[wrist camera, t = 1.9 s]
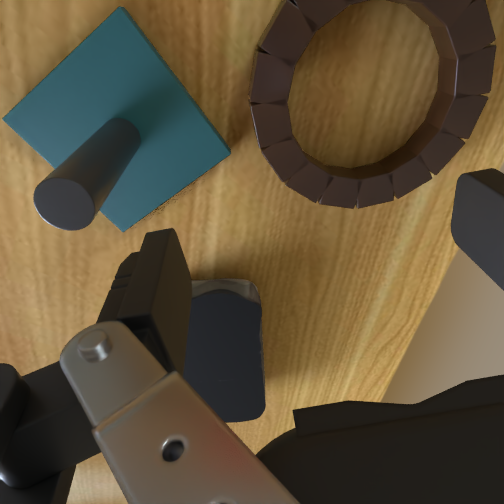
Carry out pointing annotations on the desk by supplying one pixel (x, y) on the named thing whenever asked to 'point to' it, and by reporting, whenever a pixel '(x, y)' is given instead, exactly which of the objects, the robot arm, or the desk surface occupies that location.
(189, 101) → the post stand
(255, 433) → the desk surface
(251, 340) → the black board eraser
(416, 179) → the ring
